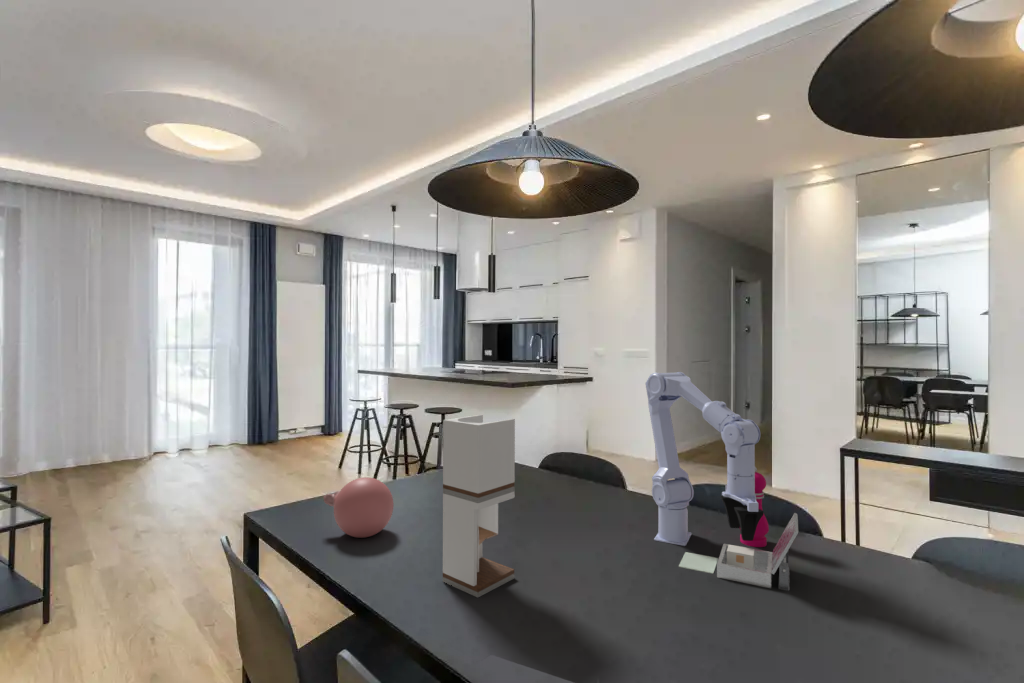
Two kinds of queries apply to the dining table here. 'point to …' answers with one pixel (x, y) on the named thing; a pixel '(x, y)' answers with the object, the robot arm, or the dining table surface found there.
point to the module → (741, 556)
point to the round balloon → (362, 507)
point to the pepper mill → (762, 525)
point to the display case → (475, 499)
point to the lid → (784, 543)
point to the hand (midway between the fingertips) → (740, 533)
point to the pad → (698, 562)
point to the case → (751, 576)
